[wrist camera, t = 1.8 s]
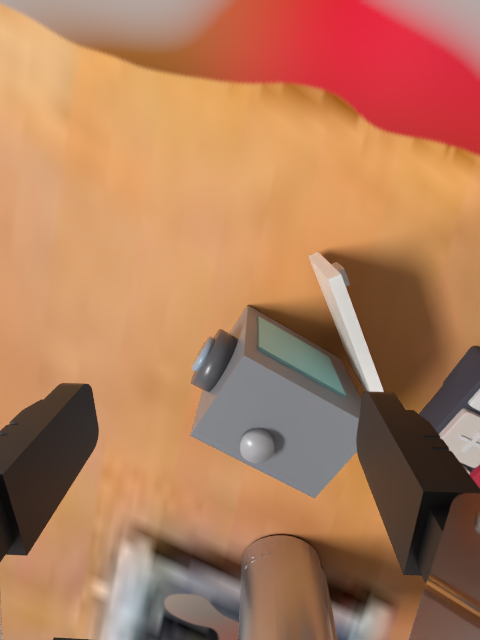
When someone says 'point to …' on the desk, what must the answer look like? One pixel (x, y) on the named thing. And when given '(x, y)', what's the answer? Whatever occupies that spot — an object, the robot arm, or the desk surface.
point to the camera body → (276, 402)
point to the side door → (345, 318)
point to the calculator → (460, 412)
